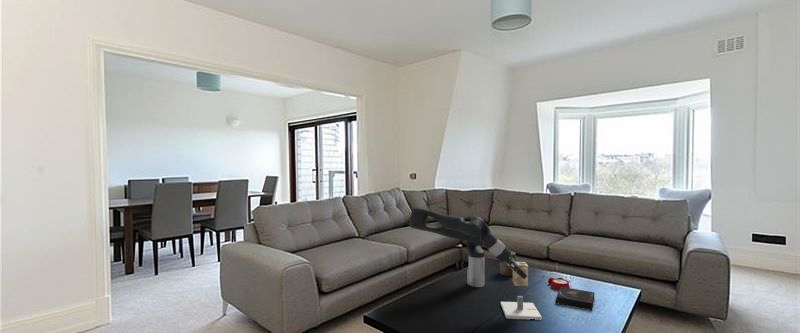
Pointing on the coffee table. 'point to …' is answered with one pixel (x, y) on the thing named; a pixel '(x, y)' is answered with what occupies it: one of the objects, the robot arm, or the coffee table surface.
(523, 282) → the beige wooden tall block
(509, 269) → the pillar candle
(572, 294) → the portable cd player
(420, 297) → the coffee table surface
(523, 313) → the plate
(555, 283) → the alarm clock
